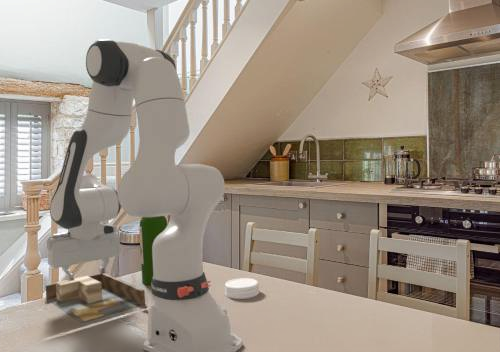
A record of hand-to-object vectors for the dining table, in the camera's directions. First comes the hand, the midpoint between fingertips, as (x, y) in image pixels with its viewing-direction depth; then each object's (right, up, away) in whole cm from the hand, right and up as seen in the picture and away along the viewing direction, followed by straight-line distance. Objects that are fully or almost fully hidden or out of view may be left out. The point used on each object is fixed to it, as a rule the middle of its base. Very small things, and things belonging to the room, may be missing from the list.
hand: (86, 276), depth 125 cm
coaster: (+46, -5, 0) cm, 46 cm away
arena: (+3, -7, -4) cm, 8 cm away
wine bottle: (+17, -6, +14) cm, 23 cm away
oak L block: (-2, -6, -1) cm, 7 cm away
